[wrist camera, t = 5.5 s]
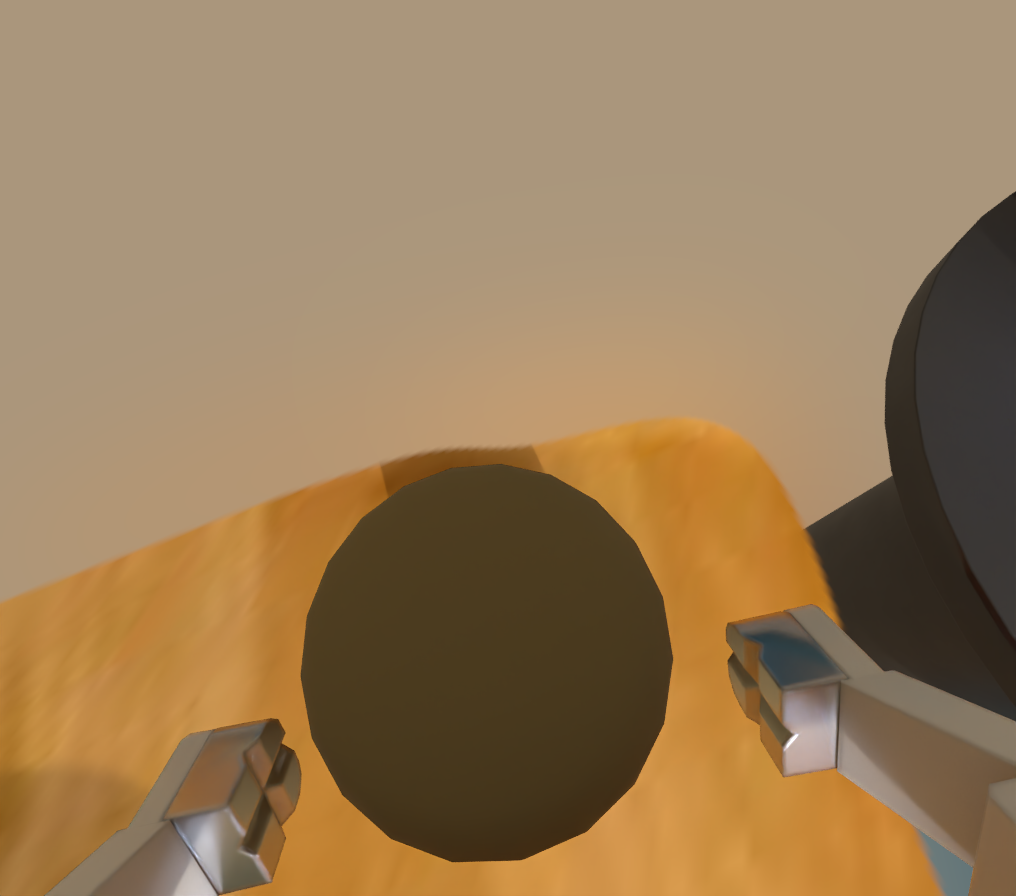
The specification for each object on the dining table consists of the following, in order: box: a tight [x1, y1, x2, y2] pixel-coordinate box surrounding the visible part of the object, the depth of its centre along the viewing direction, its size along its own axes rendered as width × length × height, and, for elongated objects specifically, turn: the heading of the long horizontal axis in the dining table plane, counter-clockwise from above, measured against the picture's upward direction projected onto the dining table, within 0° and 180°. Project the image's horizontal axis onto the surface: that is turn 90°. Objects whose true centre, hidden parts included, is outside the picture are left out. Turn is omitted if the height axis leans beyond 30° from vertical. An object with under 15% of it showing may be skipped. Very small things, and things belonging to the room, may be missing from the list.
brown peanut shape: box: [301, 464, 673, 862], centre depth 11 cm, size 6×6×11 cm
